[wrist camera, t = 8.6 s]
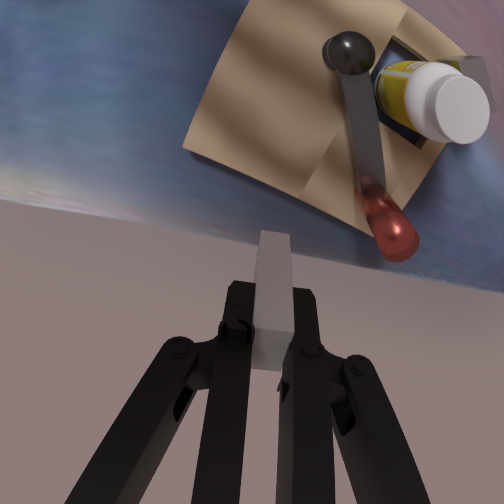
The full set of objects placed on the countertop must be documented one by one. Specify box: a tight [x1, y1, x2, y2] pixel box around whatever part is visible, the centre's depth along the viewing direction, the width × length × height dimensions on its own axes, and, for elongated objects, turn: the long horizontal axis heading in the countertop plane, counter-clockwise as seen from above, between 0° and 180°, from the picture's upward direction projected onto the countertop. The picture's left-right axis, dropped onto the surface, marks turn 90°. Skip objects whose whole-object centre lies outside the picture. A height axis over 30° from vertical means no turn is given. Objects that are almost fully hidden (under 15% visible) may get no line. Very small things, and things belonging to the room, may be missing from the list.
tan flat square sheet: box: [182, 0, 467, 237], centre depth 23 cm, size 22×22×2 cm
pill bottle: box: [375, 61, 490, 144], centre depth 19 cm, size 6×6×11 cm
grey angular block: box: [436, 55, 496, 113], centre depth 19 cm, size 5×3×6 cm, turn 25°
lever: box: [327, 31, 419, 262], centre depth 20 cm, size 16×4×9 cm, turn 16°
